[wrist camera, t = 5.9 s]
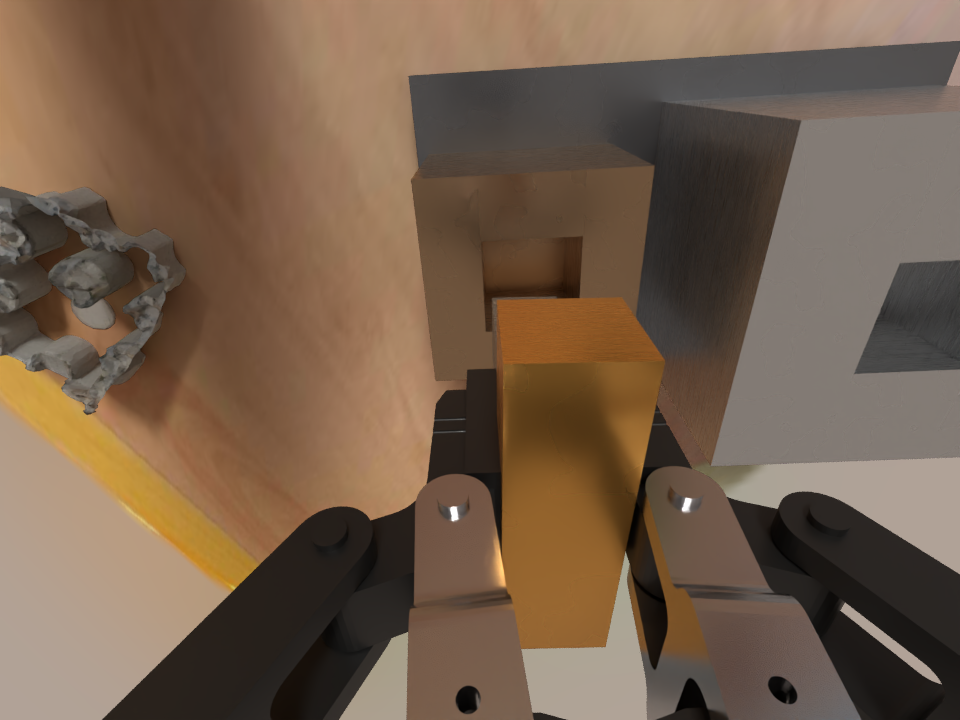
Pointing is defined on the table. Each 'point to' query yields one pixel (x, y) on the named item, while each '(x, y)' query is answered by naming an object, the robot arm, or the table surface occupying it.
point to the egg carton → (77, 287)
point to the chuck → (718, 234)
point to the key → (569, 457)
